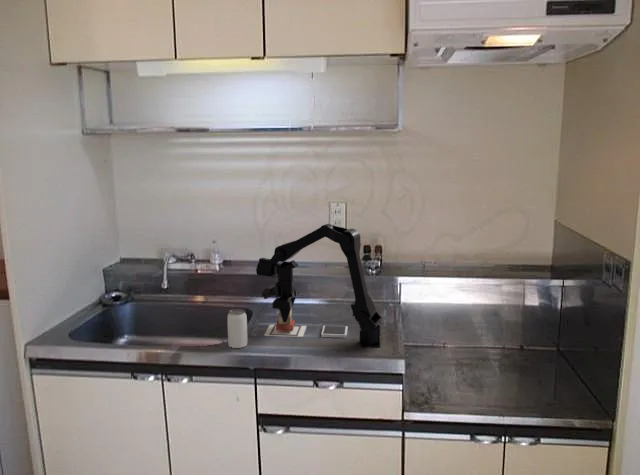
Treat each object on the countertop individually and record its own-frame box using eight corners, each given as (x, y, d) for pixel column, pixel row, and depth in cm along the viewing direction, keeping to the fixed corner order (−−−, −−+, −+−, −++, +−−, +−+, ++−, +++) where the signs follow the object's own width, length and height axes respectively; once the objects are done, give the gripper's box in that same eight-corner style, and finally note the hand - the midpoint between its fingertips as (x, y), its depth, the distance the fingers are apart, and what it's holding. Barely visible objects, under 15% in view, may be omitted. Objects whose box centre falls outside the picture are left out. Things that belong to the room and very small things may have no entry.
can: (249, 342, 178) (248, 309, 176) (245, 349, 172) (244, 315, 170) (231, 341, 179) (230, 308, 177) (226, 348, 172) (224, 314, 170)
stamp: (294, 325, 191) (294, 301, 189) (292, 330, 185) (292, 306, 184) (279, 324, 192) (278, 300, 190) (276, 330, 186) (275, 305, 184)
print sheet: (306, 326, 193) (306, 325, 193) (302, 337, 183) (302, 335, 182) (269, 325, 195) (269, 324, 195) (263, 335, 184) (263, 334, 184)
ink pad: (347, 328, 191) (347, 325, 191) (346, 337, 182) (346, 334, 182) (323, 328, 192) (323, 324, 191) (321, 336, 183) (321, 333, 183)
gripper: (268, 271, 195) (269, 311, 198) (257, 285, 177) (258, 328, 180) (297, 272, 194) (297, 312, 197) (289, 285, 176) (290, 329, 178)
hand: (285, 320), depth 188 cm, fingers closed on stamp, 4 cm apart
